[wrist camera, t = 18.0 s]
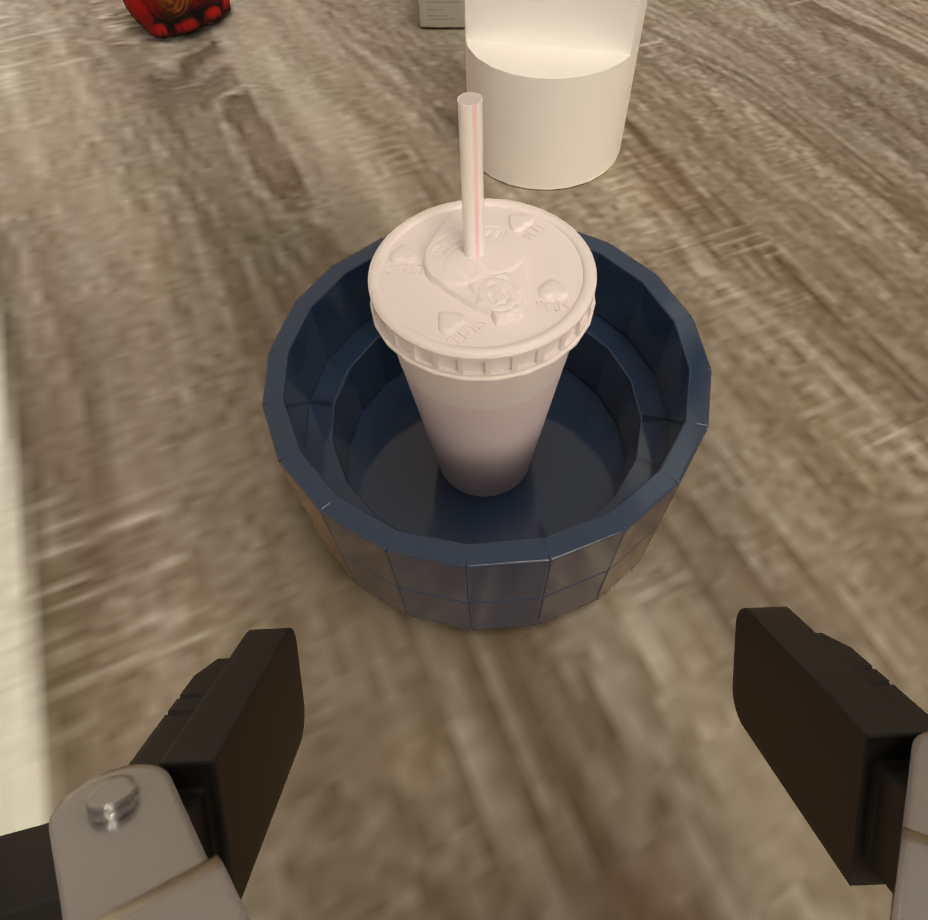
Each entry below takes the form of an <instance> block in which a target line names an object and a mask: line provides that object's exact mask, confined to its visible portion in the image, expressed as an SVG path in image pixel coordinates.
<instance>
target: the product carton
mask: <svg viewBox="0 0 928 920" xmlns="http://www.w3.org/2000/svg"><path fill="white" fill-rule="evenodd" d="M418 6H419V18H420V25H421V26H422V27H465V19H464V0H418Z"/></svg>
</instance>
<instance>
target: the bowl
mask: <svg viewBox="0 0 928 920" xmlns="http://www.w3.org/2000/svg"><path fill="white" fill-rule="evenodd" d="M576 232H577V231H576ZM577 233H578V234H579V235H580V236H581V237H582V238H583V240H584V241H585V242H586V244H587V245H588V247H589V249H590V251H591V253H592V255H593V258H594V261H595V265H596V270H597V283H596V290H595V302H596V303H595V307H594V311H593V315H592V319H591V323H590V326H589V327H588V329H587V330H586V332H585V333H584V334H583V336H582V337H581V339H580V340H579V342H578V343H577V345H576V346H575V347H574V348H572V349H571V350H570V351H569V353H568V357H567V360H566V362H565V365H564V367H563V370H562V373H561V376H560V379H559V381H558V384H557V387H556V390H555V393H554V396H553V399H552V402H551V405H550V407H549V410H548V413H547V416H546V419H545V422H544V425H543V428H542V431H541V433H540V436H539V439H538V442H537V445H536V448H535V451H534V454H533V457H532V460H531V462H530V465H529V468H528V471H527V473H526V475H525V476H524V478H523V479H522V480H521V482H520V483H519V484H518V485H516V486H515V487H514V488H512V489H511V490H509V491H507V492H505V493H502V494H499V495H495V496H489V497H480V496H473V495H469V494H466V493H464V492H461V491H459V490H458V489H456V488H455V487H453V486H452V485H451V484H450V483H449V482H448V481H447V480H446V479H445V477H444V476H443V474H442V472H441V469H440V467H439V464H438V461H437V459H436V456H435V453H434V451H433V448H432V445H431V443H430V440H429V437H428V435H427V432H426V429H425V427H424V424H423V421H422V419H421V416H420V413H419V411H418V408H417V405H416V403H415V400H414V397H413V395H412V392H411V389H410V387H409V384H408V381H407V379H406V376H405V373H404V371H403V369H402V367H401V364H400V361H399V358H398V356H397V353H395V352H394V351H393V350H392V349H390V348H389V347H388V346H387V344H386V343H385V341H384V340H383V338H382V337H381V335H380V333H379V332H378V330H377V329H376V327H375V325H374V320H373V316H372V312H371V307H370V301H371V299H370V294H369V289H368V272H369V267H370V263H371V261H372V258H373V256H374V254H375V252H376V250H377V248H378V247H379V245H380V244H381V243H382V241H383V240H384V239H385V238H386V237H387V236H385V237H384V238H380V239H379V240H377V241H375V242H373V243H372V244H370V245H368V246H366V247H364V248H363V249H361V250H359V251H357V252H356V253H354V254H352V255H350V256H348V257H347V258H345V259H343V260H341V261H339V262H338V263H336V264H335V265H332V266H331V267H330V268H329V269H328V270H327V271H326V272H325V273H324V274H323V275H322V276H321V277H320V278H319V279H318V280H317V281H316V282H315V283H314V284H313V285H312V286H311V287H310V288H309V289H308V290H307V291H306V292H305V293H304V294H302V295H301V296H300V297H299V298H298V299H297V300H296V301H295V303H294V304H293V306H292V308H291V310H290V312H289V314H288V316H287V317H286V319H285V321H284V323H283V325H282V327H281V329H280V331H279V333H278V334H277V336H276V338H275V340H274V342H273V344H272V346H271V348H270V351H269V352H268V360H267V369H266V377H265V386H264V394H263V402H262V405H263V410H264V414H265V417H266V420H267V424H268V427H269V431H270V434H271V437H272V441H273V444H274V447H275V451H276V454H277V458H278V461H279V462H280V464H281V466H282V468H283V470H284V472H285V474H286V476H287V477H288V479H289V481H290V483H291V485H292V487H293V489H294V490H295V492H296V494H297V496H298V498H299V500H300V502H301V503H302V505H303V507H304V509H305V511H306V513H307V515H308V516H309V518H310V520H311V522H312V524H313V526H314V528H315V530H316V531H317V533H318V535H319V537H320V539H321V541H322V542H323V543H324V544H325V546H326V547H327V548H328V550H329V551H330V552H331V553H332V555H333V556H334V557H335V558H336V560H337V561H338V562H339V563H340V565H341V566H342V567H343V568H344V570H345V571H346V572H347V573H348V575H349V576H350V577H351V578H352V580H353V581H354V582H356V583H357V585H359V586H361V587H362V588H364V589H365V590H367V591H369V592H370V593H372V594H374V595H375V596H377V597H378V598H380V599H382V600H383V601H385V602H387V603H388V604H390V605H391V606H393V607H395V608H396V609H398V610H400V611H401V612H403V613H404V614H408V615H409V616H412V617H417V618H421V619H425V620H429V621H434V622H438V623H442V624H447V625H451V626H455V627H459V628H464V629H468V630H469V629H472V630H481V629H493V628H506V627H518V626H530V625H536V624H540V623H543V622H545V621H548V620H550V619H552V618H555V617H557V616H559V615H562V614H564V613H567V612H569V611H571V610H574V609H576V608H578V607H581V606H583V605H586V604H588V603H590V602H593V601H594V600H595V599H596V600H597V599H598V598H599V597H600V596H602V595H603V594H604V593H605V592H606V591H607V590H608V589H609V588H610V587H612V586H613V585H614V584H615V583H616V582H617V581H618V580H619V579H620V578H621V577H623V576H624V575H625V574H626V573H627V572H628V571H629V570H630V569H631V568H633V567H634V566H635V565H636V564H637V563H638V562H639V561H640V559H641V558H642V556H643V554H644V552H645V550H646V548H647V546H648V544H649V542H650V541H651V539H652V537H653V535H654V533H655V531H656V529H657V527H658V525H659V523H660V521H661V519H662V517H663V515H664V513H665V511H666V509H667V507H668V505H669V503H670V501H671V500H672V498H673V496H674V494H675V492H676V490H677V488H678V486H679V484H680V482H681V480H682V478H683V476H684V474H685V472H686V470H687V468H688V466H689V464H690V462H691V460H692V458H693V456H694V455H695V453H696V451H697V449H698V447H699V445H700V443H701V441H702V439H703V437H704V435H705V433H706V431H707V428H708V423H709V406H710V389H711V367H710V364H709V362H708V359H707V356H706V353H705V350H704V348H703V345H702V342H701V339H700V336H699V334H698V331H697V328H696V325H695V322H694V320H693V318H692V317H691V315H690V314H689V313H688V312H687V310H686V309H685V308H684V307H683V306H682V304H681V303H680V302H679V301H678V300H677V298H676V297H675V296H674V295H673V293H672V292H671V291H670V290H669V289H668V287H667V286H666V285H665V284H664V283H663V281H662V280H661V279H660V278H659V277H658V276H657V275H656V274H655V273H654V272H652V271H651V270H649V269H648V268H646V267H645V266H643V265H642V264H640V263H639V262H637V261H636V260H634V259H633V258H631V257H630V256H628V255H627V254H625V253H624V252H622V251H621V250H619V249H618V248H616V247H615V246H613V245H612V244H609V243H608V242H605V241H602V240H600V239H597V238H594V237H591V236H589V235H586V234H583V233H580V232H577Z"/></svg>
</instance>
